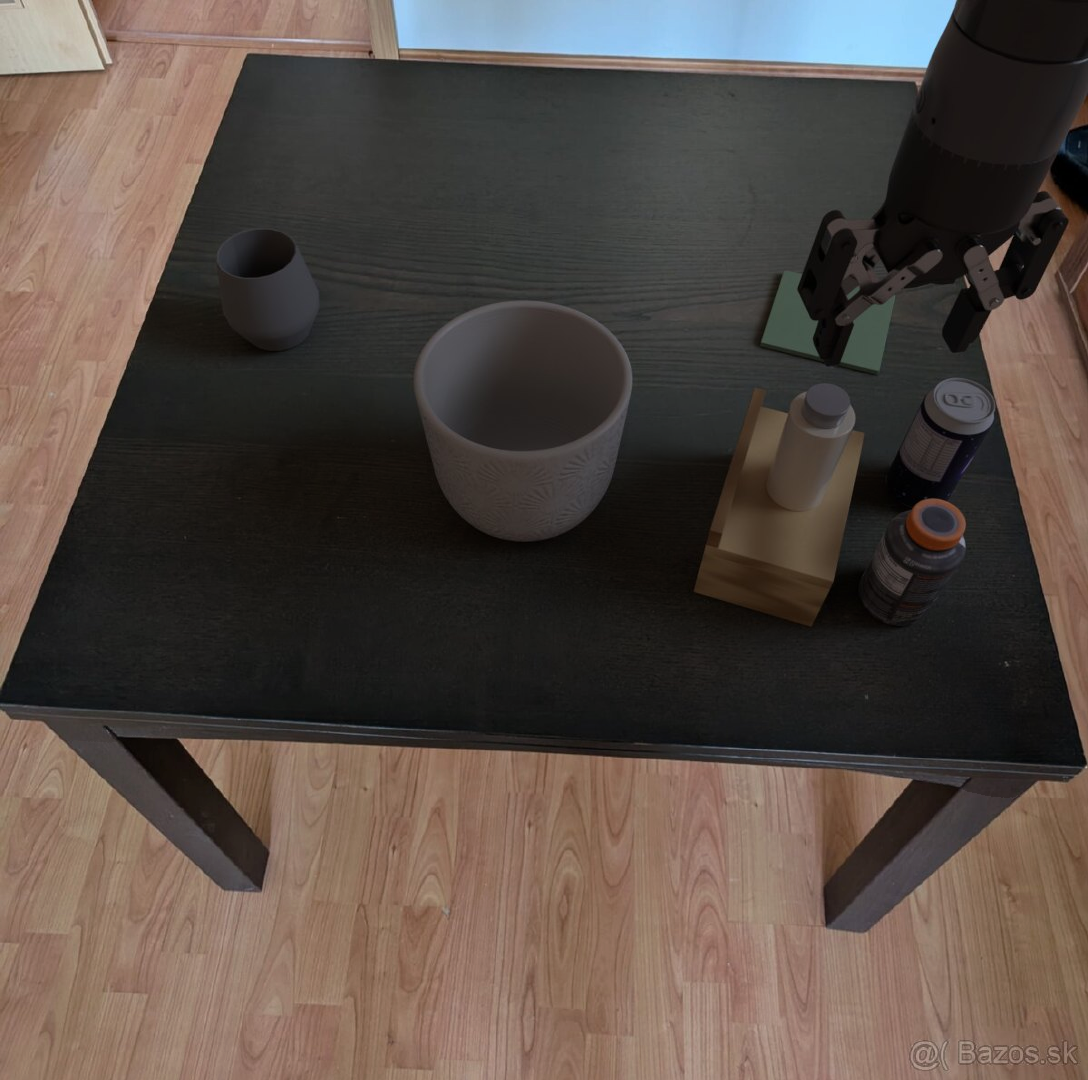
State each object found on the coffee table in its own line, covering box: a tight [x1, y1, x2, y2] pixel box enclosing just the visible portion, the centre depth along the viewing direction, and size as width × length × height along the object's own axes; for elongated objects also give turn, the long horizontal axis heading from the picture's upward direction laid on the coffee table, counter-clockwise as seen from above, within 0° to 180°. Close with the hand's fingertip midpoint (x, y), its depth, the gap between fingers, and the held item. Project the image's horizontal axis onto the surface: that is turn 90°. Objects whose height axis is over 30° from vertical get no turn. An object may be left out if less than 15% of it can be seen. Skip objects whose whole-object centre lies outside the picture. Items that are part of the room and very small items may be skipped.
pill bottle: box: [858, 499, 967, 627], centre depth 74 cm, size 6×6×11 cm
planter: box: [413, 299, 633, 542], centre depth 79 cm, size 17×17×15 cm
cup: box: [215, 227, 320, 352], centre depth 92 cm, size 10×9×10 cm
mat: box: [759, 270, 896, 376], centre depth 98 cm, size 12×12×1 cm
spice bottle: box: [766, 382, 856, 511], centre depth 72 cm, size 5×5×10 cm
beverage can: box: [885, 377, 996, 509], centre depth 80 cm, size 6×6×12 cm
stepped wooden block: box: [693, 387, 866, 628], centre depth 79 cm, size 10×16×9 cm, turn 160°
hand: (890, 350), depth 61 cm, fingers open, 8 cm apart
